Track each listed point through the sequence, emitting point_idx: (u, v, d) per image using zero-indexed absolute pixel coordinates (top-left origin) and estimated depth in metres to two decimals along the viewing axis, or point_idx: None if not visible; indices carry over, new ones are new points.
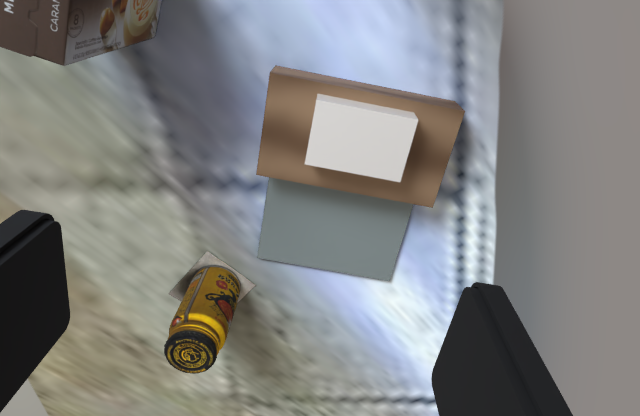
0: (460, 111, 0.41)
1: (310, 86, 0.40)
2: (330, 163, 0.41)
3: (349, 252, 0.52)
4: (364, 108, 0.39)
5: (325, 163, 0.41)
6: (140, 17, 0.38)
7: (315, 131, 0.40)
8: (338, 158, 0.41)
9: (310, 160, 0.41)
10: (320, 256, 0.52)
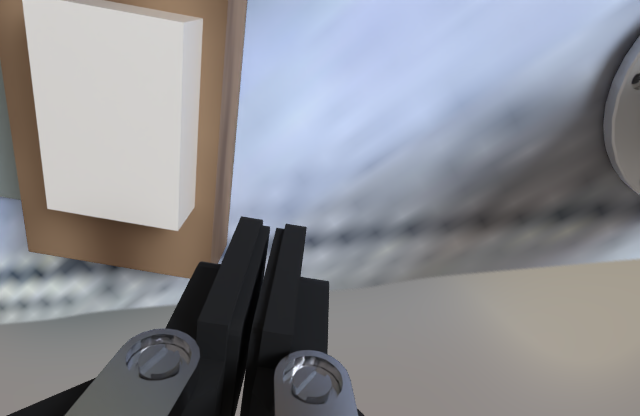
0: None
1: (215, 1, 0.18)
2: (42, 60, 0.17)
3: None
4: (182, 129, 0.19)
5: (39, 48, 0.17)
6: None
7: (109, 21, 0.17)
8: (61, 79, 0.18)
9: (35, 9, 0.17)
10: None
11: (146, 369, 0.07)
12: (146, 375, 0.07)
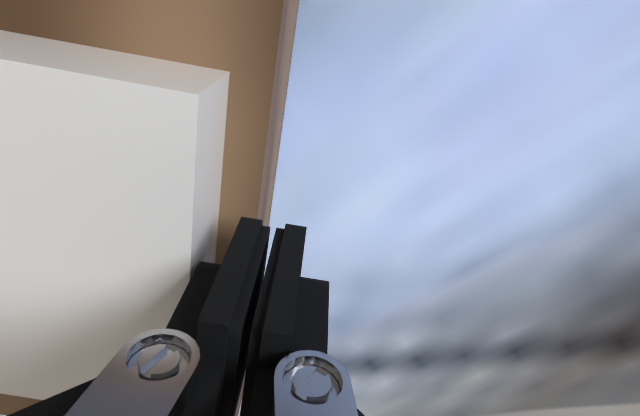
0: None
1: (255, 43, 0.10)
2: None
3: None
4: (193, 272, 0.10)
5: None
6: None
7: (49, 90, 0.08)
8: None
9: None
10: None
11: (146, 369, 0.07)
12: (146, 375, 0.07)
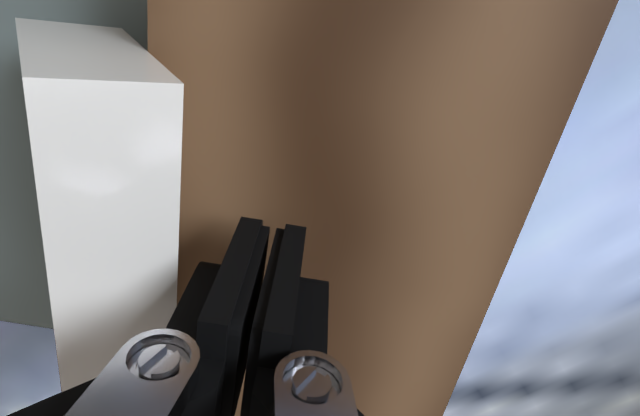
0: None
1: (554, 99, 0.10)
2: None
3: None
4: (67, 290, 0.09)
5: None
6: None
7: None
8: None
9: None
10: None
11: (146, 369, 0.07)
12: (146, 375, 0.07)
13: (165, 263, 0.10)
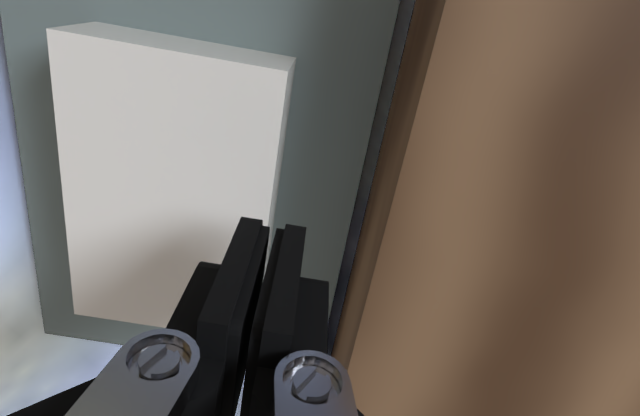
0: None
1: None
2: None
3: None
4: None
5: None
6: None
7: None
8: None
9: None
10: None
11: (146, 369, 0.07)
12: (146, 375, 0.07)
13: None
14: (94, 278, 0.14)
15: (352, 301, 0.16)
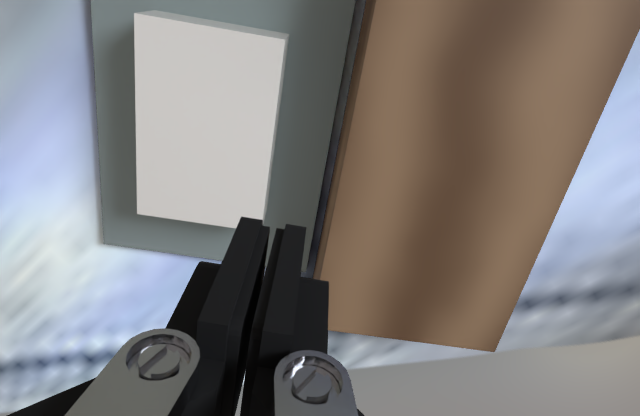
0: (495, 346, 0.24)
1: (602, 83, 0.18)
2: None
3: None
4: None
5: None
6: None
7: None
8: None
9: None
10: (132, 95, 0.22)
11: (146, 369, 0.07)
12: (146, 375, 0.07)
13: None
14: (153, 185, 0.21)
15: (330, 205, 0.23)
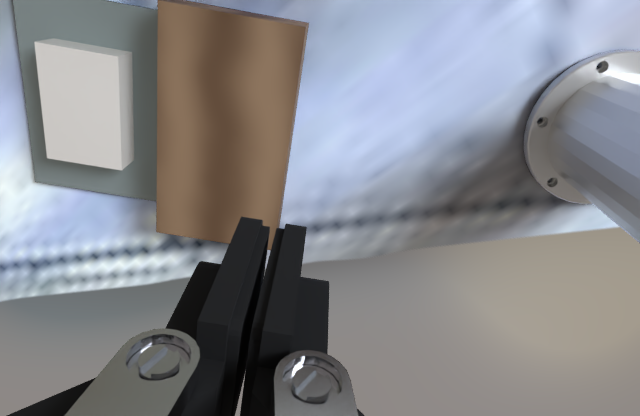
0: None
1: (290, 81, 0.32)
2: None
3: None
4: None
5: None
6: None
7: None
8: None
9: None
10: None
11: (146, 369, 0.07)
12: (146, 375, 0.07)
13: None
14: (54, 140, 0.36)
15: None
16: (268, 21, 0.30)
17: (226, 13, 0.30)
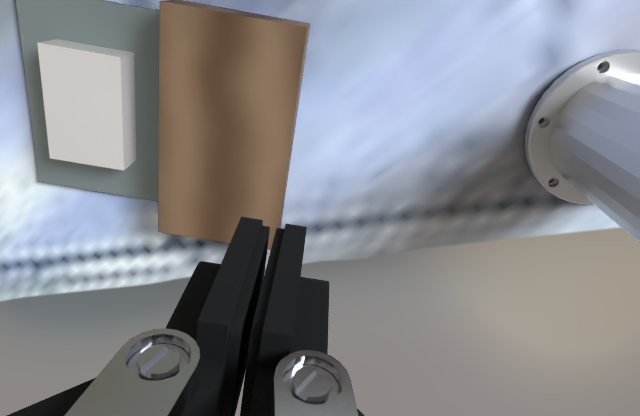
0: None
1: (292, 82, 0.32)
2: None
3: None
4: None
5: None
6: None
7: None
8: None
9: None
10: None
11: (146, 369, 0.07)
12: (146, 375, 0.07)
13: None
14: (57, 140, 0.36)
15: None
16: (269, 22, 0.30)
17: (228, 14, 0.30)
